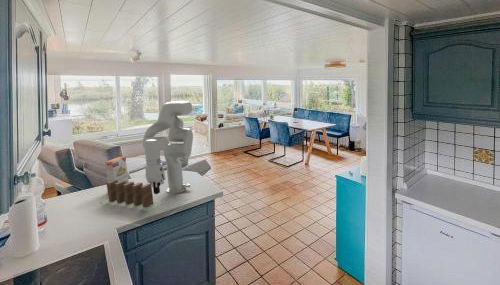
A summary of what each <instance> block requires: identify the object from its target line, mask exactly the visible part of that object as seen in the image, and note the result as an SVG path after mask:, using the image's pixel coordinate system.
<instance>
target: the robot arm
mask: <svg viewBox="0 0 500 285" xmlns="http://www.w3.org/2000/svg"><path fill="white" fill-rule="evenodd" d="M192 111H193V104H192V103H191V101H188V100H185V101H181V100H179V101H176V100H175V101H169V102H165V103H163V105H162V106H161V110H160V112H159V116H158V119H157V121H156V122H153V124H151V125H150V126H149V127H148V128H147V129H146V131H145V133H144V135H143V139H142V147H143V149H144V156H145V162H146V163H145V178H146V181H147V184H151V186H152V188H153V189H152V191H153V195H158V194H159V193H161V190H160V186H161V185H163V184H165V180H166V174H167V185H168V188H167V189H166V193H168V194H181V193H183V192H185V191H187V188H191V184H189V183H185V182H184V178H183V177H184V176H183V166H182V162H181V160H180V159H189V157H191V154H192V149H193V142H194V133H193V130H192V129H191V128H190V127H184V120H183V119H182V118H181V117H183V116H184V117H185V116H187V115H190V114H191V113H192ZM180 116H181V117H180ZM167 130H168V136H167V137H165V136H156V135H157V134H159V133H162V132H164V131H167ZM160 151H162V152H163V156H164V159H165V166H166V173H165V168H164V165H163V163H162V160H161V152H160Z"/></svg>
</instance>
